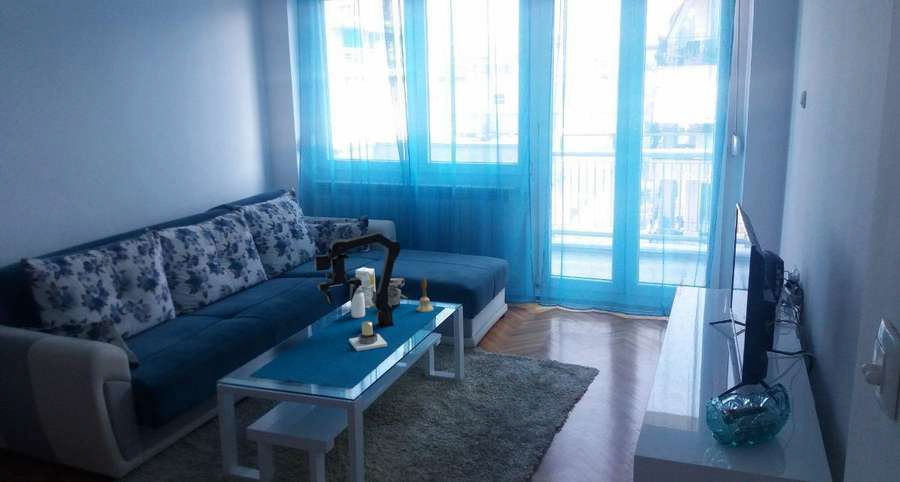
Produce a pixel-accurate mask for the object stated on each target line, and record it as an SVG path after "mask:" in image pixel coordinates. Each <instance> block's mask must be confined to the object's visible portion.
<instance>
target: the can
mask: <svg viewBox="0 0 900 482" xmlns="http://www.w3.org/2000/svg"><path fill="white" fill-rule="evenodd" d="M350 311H351V312H350V313H351V317H352V318H353V319H361V318H364V317H365V316H366V308H365V302H364V294H363V291H361V290H356V292H355V294H354V297H353V299H352V301H350Z"/></svg>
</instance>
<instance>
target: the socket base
mask: <svg viewBox="0 0 900 482" xmlns="http://www.w3.org/2000/svg"><path fill="white" fill-rule="evenodd" d="M376 335H377V340H378V341H377V342H375V343H373V344H360V343H359V342H358V336H357V337H352V338H351V337H350V338H349V339H348V342H349V344H351V346H352V347H353V348H354V349H355V350H356V351H357V352H361V351H367V350H371V349H373V350H374V349H378V348H385V347H388V342H387V341H385V339H384V338H383V337H382V336H381V335H380V334H379V333H376Z"/></svg>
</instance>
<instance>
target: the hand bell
mask: <svg viewBox="0 0 900 482" xmlns="http://www.w3.org/2000/svg"><path fill="white" fill-rule="evenodd" d="M420 288H421V289H422V297H421V298H420V299H419V305H418V307H416V311H417V312H420V313H428V312H432V311H433V310H434V307H433V306H432V305H431V304H432V303H431V302H430V298H429V297H427V280H426V278H425V277H422V278H421V287H420Z"/></svg>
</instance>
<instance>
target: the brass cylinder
mask: <svg viewBox="0 0 900 482" xmlns="http://www.w3.org/2000/svg"><path fill="white" fill-rule="evenodd" d="M373 330H374V329H373V322H372V321H370V320H367V321H362V322H361V332H362V333H361V334H362V336H363V338H372V337H373V333H374V331H373Z"/></svg>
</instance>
